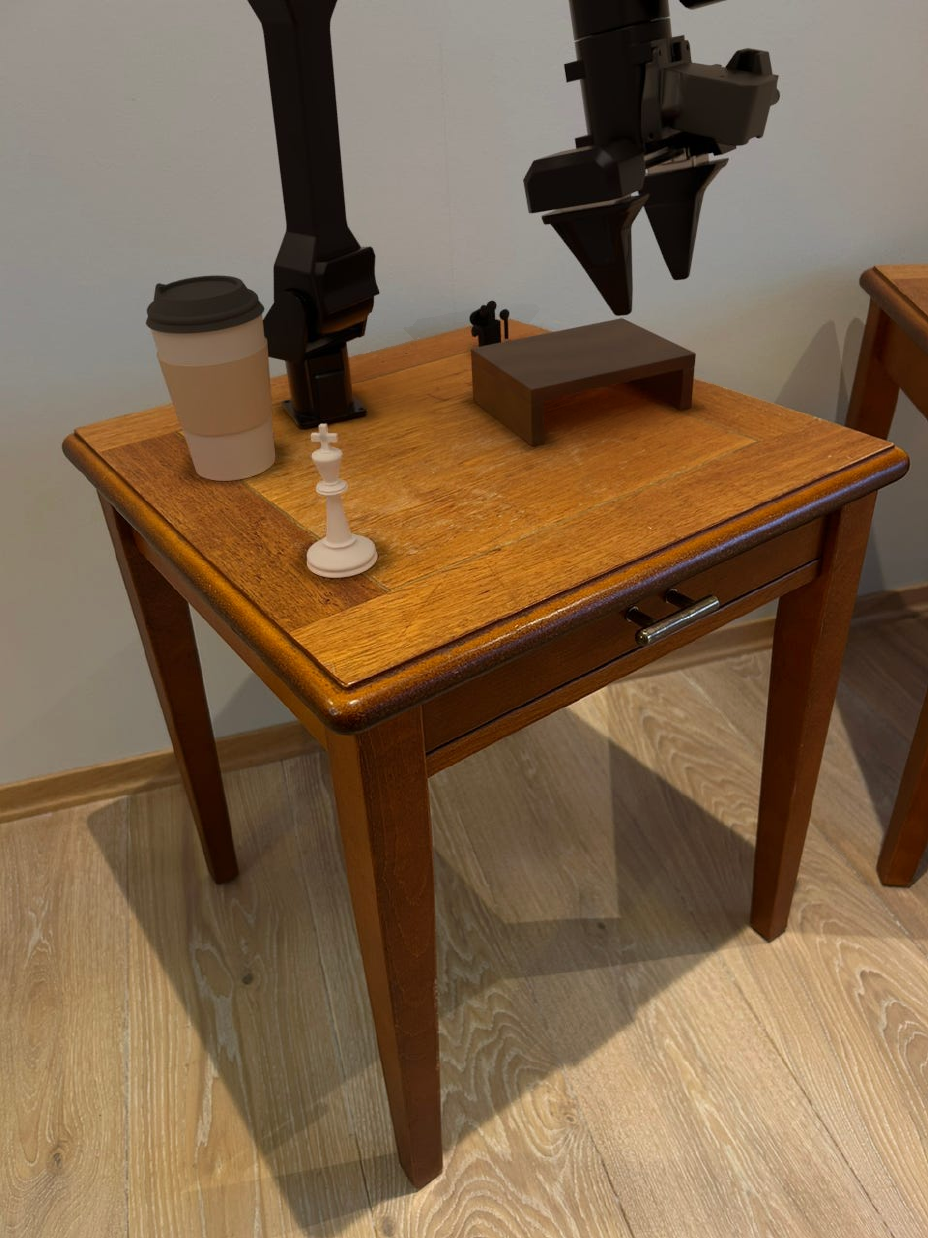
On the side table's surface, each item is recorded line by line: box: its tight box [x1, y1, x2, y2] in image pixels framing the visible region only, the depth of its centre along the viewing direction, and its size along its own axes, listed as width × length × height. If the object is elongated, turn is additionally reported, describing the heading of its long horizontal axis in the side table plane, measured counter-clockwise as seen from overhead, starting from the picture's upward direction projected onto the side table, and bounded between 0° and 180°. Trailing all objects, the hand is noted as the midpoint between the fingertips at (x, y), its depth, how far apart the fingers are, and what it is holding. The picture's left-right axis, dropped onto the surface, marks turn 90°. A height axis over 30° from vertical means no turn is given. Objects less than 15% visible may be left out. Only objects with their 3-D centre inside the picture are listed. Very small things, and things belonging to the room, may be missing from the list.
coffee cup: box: [145, 274, 276, 482], centre depth 78 cm, size 9×9×15 cm
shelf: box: [470, 317, 697, 447], centre depth 87 cm, size 12×16×5 cm
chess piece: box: [306, 423, 378, 579], centre depth 65 cm, size 5×5×10 cm
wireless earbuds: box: [468, 300, 510, 347], centre depth 100 cm, size 7×2×5 cm, turn 147°
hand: (653, 296), depth 65 cm, fingers open, 9 cm apart
